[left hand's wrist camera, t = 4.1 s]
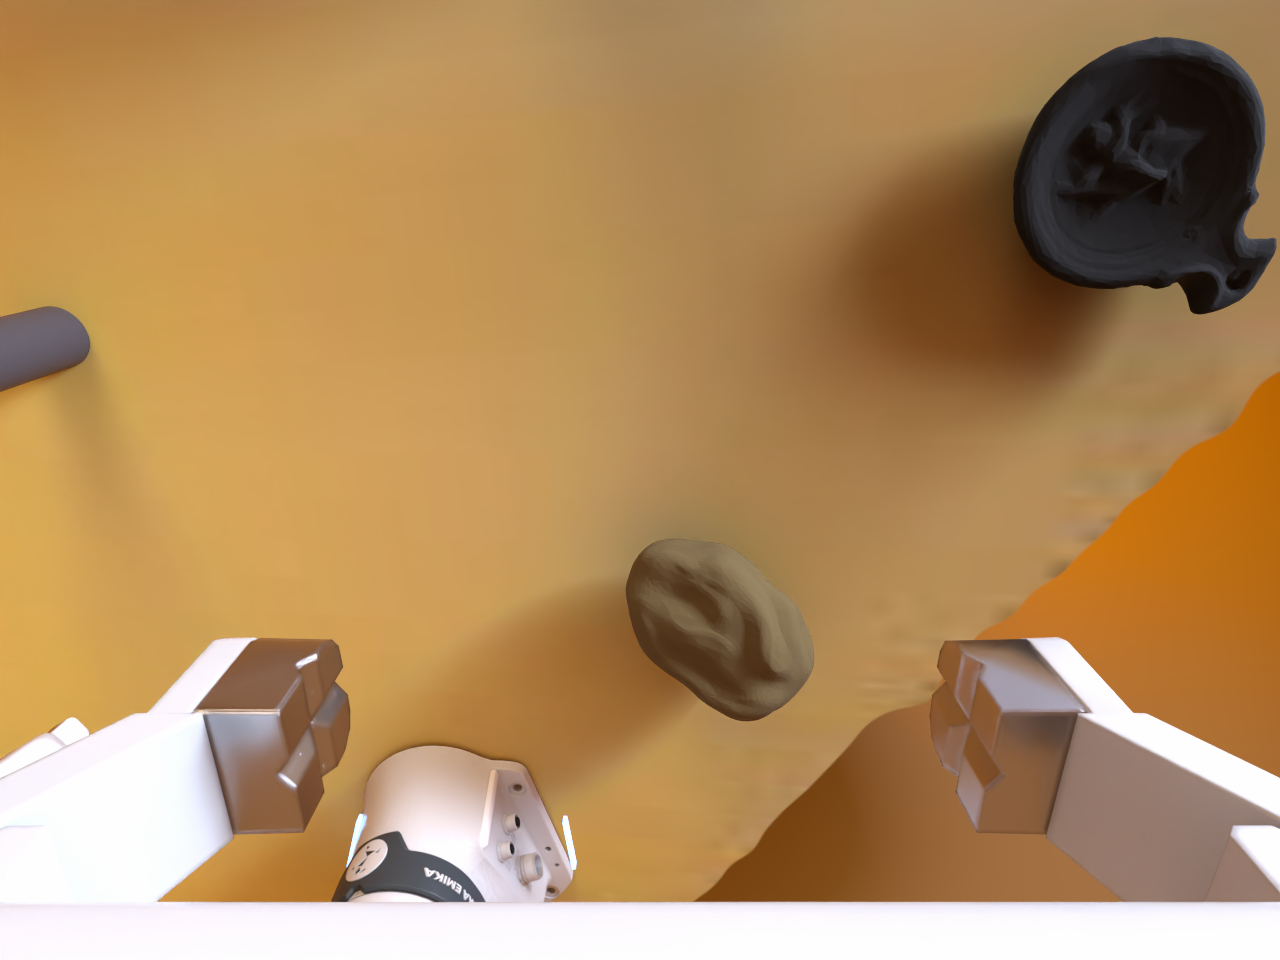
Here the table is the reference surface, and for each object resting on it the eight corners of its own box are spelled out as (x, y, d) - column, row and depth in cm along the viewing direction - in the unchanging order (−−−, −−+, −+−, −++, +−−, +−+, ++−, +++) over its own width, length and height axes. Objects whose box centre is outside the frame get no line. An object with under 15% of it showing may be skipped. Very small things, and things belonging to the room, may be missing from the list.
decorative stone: (590, 577, 64) (582, 646, 55) (681, 483, 61) (688, 539, 52) (738, 688, 68) (754, 769, 59) (830, 605, 65) (862, 677, 56)
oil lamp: (1113, 369, 58) (1155, 386, 53) (944, 181, 53) (973, 182, 48) (1293, 212, 53) (1355, 216, 49) (1127, -8, 49) (1179, -26, 44)
